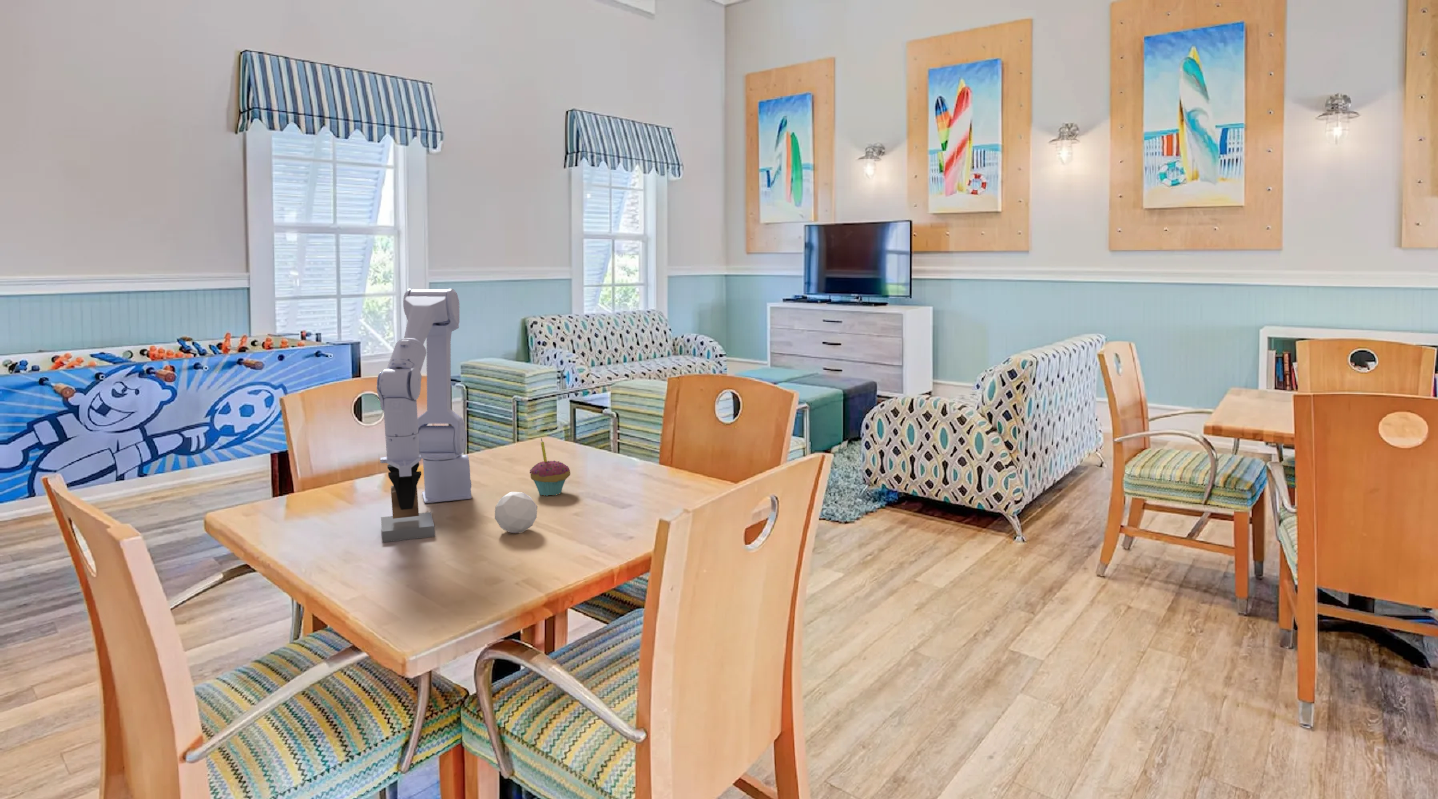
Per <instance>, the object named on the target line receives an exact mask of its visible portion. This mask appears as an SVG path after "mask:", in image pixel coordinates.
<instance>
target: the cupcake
mask: <svg viewBox="0 0 1438 799" xmlns="http://www.w3.org/2000/svg"><path fill="white" fill-rule="evenodd" d="M540 441H541V442H540V446H541V452H542V458H543V460H542V461H540V462H538V463H537V464H535V465H534V466H533V467H531V468H530V470H529V474H530V480H532V481H533V482H534V484H535V486H536V488H537V492H538V495H540V496H542V495H544V496H543V497H549V496H548V495H555V496H557V495H556V494H559V493H560V494H562V491H563V487H564V484H565V482H566V480H567V479H568V478H570V476H571V470H570V467H569V466H568V465H567V464H564V463H563V462H561V461H557V460H548V459H547V452H546V445H545V442H544V441H543V439H542V438H540ZM560 494H559V495H560ZM545 495H546V496H545Z"/></svg>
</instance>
